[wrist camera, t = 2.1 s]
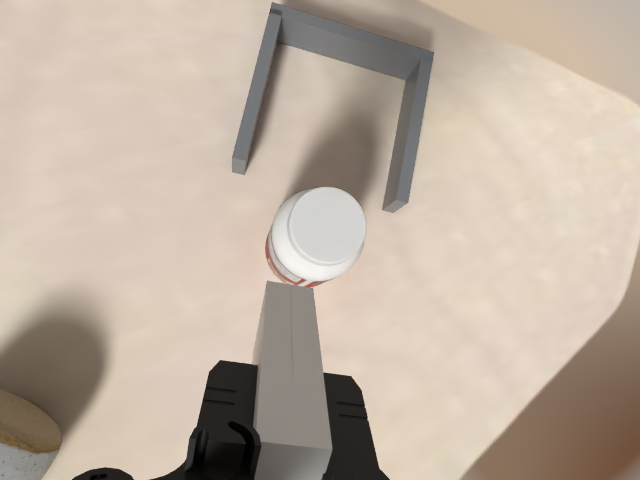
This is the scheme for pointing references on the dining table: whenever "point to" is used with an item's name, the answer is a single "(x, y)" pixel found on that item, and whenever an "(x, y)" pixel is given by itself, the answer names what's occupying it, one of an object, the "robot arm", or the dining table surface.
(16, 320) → the dining table surface
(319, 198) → the pill bottle
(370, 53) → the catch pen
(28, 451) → the ceramic mug
